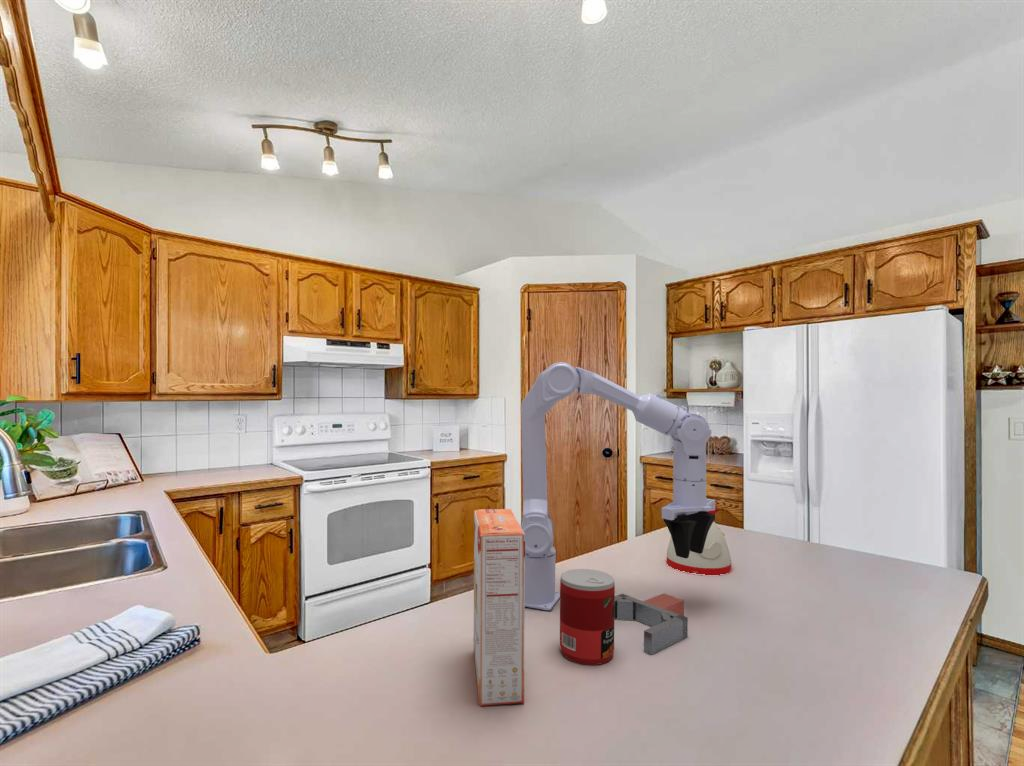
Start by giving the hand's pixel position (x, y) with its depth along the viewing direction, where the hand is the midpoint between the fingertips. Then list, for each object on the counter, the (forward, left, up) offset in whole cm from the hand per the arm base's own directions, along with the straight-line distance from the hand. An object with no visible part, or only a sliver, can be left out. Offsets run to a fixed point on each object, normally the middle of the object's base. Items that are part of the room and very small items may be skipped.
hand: (689, 554), depth 93 cm
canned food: (-14, -24, -10) cm, 29 cm away
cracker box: (-24, -35, -10) cm, 43 cm away
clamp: (-6, -11, -9) cm, 16 cm away
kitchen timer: (+1, +26, -10) cm, 28 cm away
